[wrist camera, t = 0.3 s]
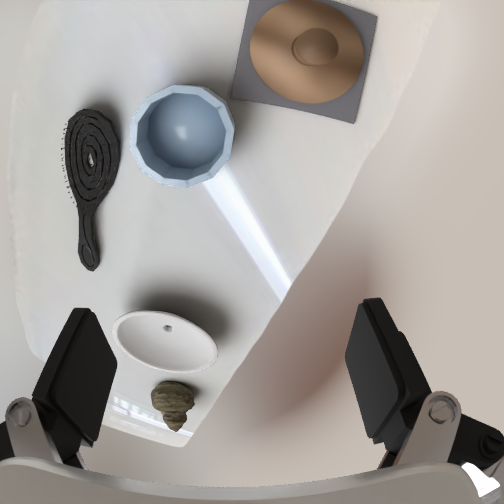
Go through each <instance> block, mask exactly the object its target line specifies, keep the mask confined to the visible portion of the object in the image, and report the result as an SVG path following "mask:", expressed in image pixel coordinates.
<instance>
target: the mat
mask: <svg viewBox="0 0 504 504" xmlns="http://www.w3.org/2000/svg"><path fill="white" fill-rule="evenodd" d="M287 1H292V0H250V1H249V6H248V10H247V15H246V20H245V25H244V29H243V34H242V39H241V44H240V50H239V55H238V60H237V65H236V71H235V76H234V82H233V87H232V93H231V98H233V99H240V100H247V101H253V102H259V103H265V104H270V105H276V106H281V107H286V108H291V109H295V110H300V111H305V112H309V113H313V114H317V115H322V116H326V117H330V118H333V119H337V120H341V121H345V122H348V123H352V124H354V122H355V118H356V113H357V109H358V105H359V101H360V97H361V92H362V88H363V84H364V79H365V75H366V70H367V65H368V61H369V56H370V51H371V46H372V41H373V36H374V30H375V25H376V19H377V16H374V15H372V14H369V13H366V12H364V11H361V10H358V9H355V8H352V7H350V6H347V5H343V4H340V3H337V2H334V1H331V0H313V1H318V2H321V3H324V4H327V5H329V6H331V7H333V8H335V9H336V10H338V11H339V12H341V13H342V14H343V15H344V16H345V17H346V18H347V19H348V20H349V21H350V22H351V23H352V24H353V26H354V27H355V29H356V30H357V32H358V34H359V36H360V39H361V42H362V46H363V66H362V69H361V72H360V75H359V77H358V79H357V80H356V82H355V83H354V84H353V86H352V87H351V88H350V89H349V90H348V91H347V92H345V93H344V94H342V95H341V96H339V97H337V98H335V99H333V100H330V101H327V102H322V103H301V102H296V101H293V100H290V99H287V98H285V97H283V96H281V95H279V94H277V93H276V92H274V91H273V90H271V89H270V88H269V87H268V86H267V85H266V84H265V83H264V82H263V81H262V80H261V79H260V77H259V76H258V74H257V73H256V70H255V68H254V66H253V63H252V60H251V55H250V41H251V36H252V33H253V30H254V28H255V26H256V24H257V22H258V21H259V19H260V18H261V17H262V16H263V15H264V14H265V13H266V12H267V11H268V10H270V9H271V8H273V7H275V6H276V5H279V4H281V3H284V2H287Z"/></svg>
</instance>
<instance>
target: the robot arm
mask: <svg viewBox="0 0 504 504" xmlns="http://www.w3.org/2000/svg"><path fill="white" fill-rule="evenodd" d="M345 361H346V364H347V368H348V371H349V374H350V378H351V381H352V384H353V387H354V391H355V394H356V398H357V401H358V404H359V408H360V412H361V415H362V419H363V422H364V426H365V429H366V433H367V436H368V437H369V438H372V439H373V442H374V444H378V443H382V442H384V444H385V448H386V450H387V451H386V453H385V455H384V457H383V459H382V461H381V463H380V464H379V466H378V468H377V470H373V471H369V472H364V473H360V474H355V475H350V476H344V477H339V478H333V479H326V480H320V481H313V482H306V483H297V484H288V485H276V486H260V487H198V486H183V485H171V484H161V483H153V482H146V481H138V480H133V479H127V478H121V477H115V476H110V475H106V474H101V473H97V472H92V471H89V470H88V468H87V466H86V464H85V462H84V460H83V458H82V456H81V454H80V453H79V447H80V445H83V446H87V447H91V448H92V446H93V442H94V441H96V440H97V438H98V435H99V431H100V427H101V423H102V419H103V415H104V412H105V408H106V404H107V400H108V397H109V393H110V390H111V386H112V383H113V379H114V376H115V373H116V369H117V360H116V357H115V355H114V353H113V351H112V349H111V347H110V345H109V343H108V341H107V339H106V337H105V335H104V333H103V330H102V328H101V326H100V324H99V322H98V319H97V317H96V315H95V313H94V312H92V311H91V310H90V309H89V308H74V309H73V310H72V312H71V314H70V316H69V318H68V320H67V322H66V324H65V325H64V327H63V329H62V331H61V333H60V335H59V337H58V339H57V341H56V343H55V345H54V347H53V349H52V351H51V353H50V355H49V358H48V360H47V362H46V364H45V366H44V368H43V371H42V373H41V375H40V377H39V380H38V382H37V384H36V386H35V389H34V391H33V394H32V396H33V398H32V400H30V399H28V398H25V397H21V398H18V399H15V400H14V401H12V402H11V404H10V405H9V406H8V408H7V410H6V414H5V419H6V421H4V422H3V423H1V424H0V504H504V436H503V434H502V433H501V432H500V431H499V430H497V429H495V428H493V427H491V426H489V425H486V424H484V423H482V422H479V421H477V420H475V419H473V418H471V417H468V416H466V415H464V414H462V413H461V406H460V403H459V402H458V400H457V399H456V398H455V397H454V396H453V395H452V394H450V393H447V392H444V391H436V392H434V393H432V391H431V389H430V387H429V385H428V382H427V380H426V378H425V376H424V374H423V372H422V370H421V367H420V365H419V364H418V361H417V359H416V357H415V355H414V353H413V351H412V349H411V347H410V345H409V343H408V341H407V339H406V337H405V335H404V334H403V333H402V332H401V331H398V329H397V327H396V325H395V323H394V321H393V320H392V317H391V316H390V314H389V312H388V310H387V309H386V306H385V304H384V302H383V301H382V299H381V298H370V299H364V300H363V303H361V304H359V305H358V309H357V312H356V316H355V320H354V324H353V328H352V331H351V335H350V339H349V342H348V346H347V349H346V352H345Z"/></svg>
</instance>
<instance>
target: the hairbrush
mask: <svg viewBox="0 0 504 504" xmlns="http://www.w3.org/2000/svg"><path fill="white" fill-rule="evenodd" d="M84 116H88V117H85V118H83V119H81V118H82V117H84ZM80 119H81V120H80ZM79 120H80V121H79ZM78 121H79V122H78ZM77 122H78V123H77ZM76 123H77V124H76ZM85 123H88V124H86V125H85V126H84V127H82V126H83V125H84V124H85ZM65 125H66V124H65ZM81 127H82V128H81ZM65 129H67V131H66V135H65V147H64V149H65V164H66V170H67V175H68V179H69V180H68V181H69V184H70V187H71V189H72V192H73V195H74V197H75V200H76V202H77V206H76V207H77V208H78V215H79V243H78V254H79V257H80V260H81V263H82V264H83V265H84V266H85V267H86V268H87V270H89V271H94V270H95V269H96V268H97V267H98V265H99V255H98V250H97V247H96V244H95V241H94V238H93V225H92V216H93V214H94V212H95V210H96V209H97V207H98V205H99V204H100V203H101V202H102V201H103V199H104V198H105V197H106V194H107V193H108V191H109V190H110V188H111V187H112V185H113V183H114V180H115V177H116V174H117V171H118V167H119V160H120V141H119V138H118V136H117V133H116V131H115V128H114V126H113V123H112V121H111V120H109V119H108V118H107V117H106V116H104V115H103V114H102V113H101V112H99V111H96V110H90V109H83V110H81V111H79V112H77V113H76V114H75V115H74V116H73V117H71V118H70V119H69V121H68V126H67V128H64V130H65ZM63 134H65V133H63ZM88 134H90V135H88ZM87 135H88V136H87ZM86 136H87V138H86ZM85 138H86V139H85ZM62 139H63V138H62ZM61 150H62V148H61ZM90 153H91V156H92V160H93V163H94V165H93V166H92V167H91V168H90V165H89V161H88V155H89V154H90ZM61 155H63V154H61ZM61 159H62V158H61ZM89 160H90V158H89ZM111 160H112V163H111ZM91 165H92V164H91ZM97 165H98V168H97ZM103 165H104V166H103ZM62 166H63V165H62ZM110 167H111V168H110ZM64 168H65V167H64ZM96 169H97V171H96ZM63 171H65V170H63ZM102 172H103V174H102ZM109 172H110V174H109ZM94 173H95V174H94ZM90 174H94V175H90ZM108 175H109V179H108ZM64 177H65V176H64ZM101 177H102V179H101ZM65 178H66V177H65ZM100 179H101V181H100ZM107 179H108V181H107ZM99 181H100V183H99ZM106 181H107V183H106ZM65 182H67V181H65ZM98 183H99V184H98ZM97 184H98V186H97V187H96V188H94V187H95V186H96V185H97ZM104 186H105V188H104V190H103V192H102V193H101V194H100V195H99V196H98V197H95V196H97V195H98V194H99V193H100V192H101V191H102V189H103V187H104ZM67 188H69V186H67ZM92 188H93V189H92ZM68 193H70V192H68ZM94 197H95V198H94ZM71 198H72V197H71ZM73 203H74V202H73Z"/></svg>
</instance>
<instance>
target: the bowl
mask: <svg viewBox="0 0 504 504" xmlns="http://www.w3.org/2000/svg"><path fill="white" fill-rule="evenodd" d="M234 129H235V122H234V120H233V117H232V115H231V112H230V110H229V107H228V105H227V102H226V101H225V100H224V99H222V98H221V97H220V96H218V95H217V94H215V93H214V92H213V91H211V90H210V89H209V88H207V87H204V86H194V85H182V84H181V85H171V86H169V87H167V88H165V89H163V90H161V91H159V92H157V93H154V94H152V95H150V96H148V97H147V98H146V99H145V100H144V102H143V103H142V105H141V106H140V108H139V109H138V111H137V112H136V114H135V115H134V117H133V118H132V120H131V128H130V143H129V147H130V149H131V151H132V153H133V155H134V157H135V159H136V162H137V164H138V166H139V168H140V170H141V171H143V172H144V173H146V174H147V175H149V176H150V177H152V178H153V179H154V180H156V181H157V182H159V183H160V184H162V185H169V186H178V187H187V188H188V187H191V186H193V185H196V184H198V183H201V182H203V181H206V180H209V179H211V178H213V177H214V176H215V175H216V173H217V172H218V171H219V170H220V168H221V167H222V166H223V165H224V164H225V162H226V161H227V160H228V159H229V158H230V154H231V148H232V142H233V136H234Z"/></svg>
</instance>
